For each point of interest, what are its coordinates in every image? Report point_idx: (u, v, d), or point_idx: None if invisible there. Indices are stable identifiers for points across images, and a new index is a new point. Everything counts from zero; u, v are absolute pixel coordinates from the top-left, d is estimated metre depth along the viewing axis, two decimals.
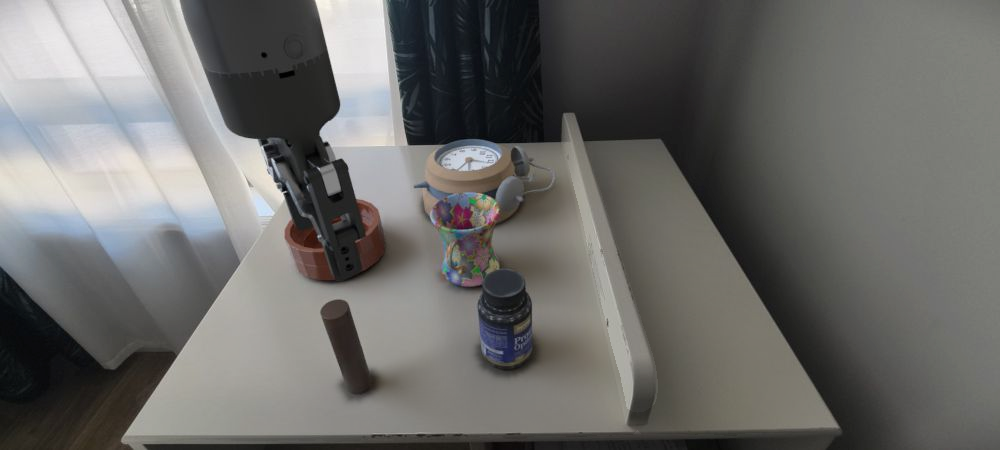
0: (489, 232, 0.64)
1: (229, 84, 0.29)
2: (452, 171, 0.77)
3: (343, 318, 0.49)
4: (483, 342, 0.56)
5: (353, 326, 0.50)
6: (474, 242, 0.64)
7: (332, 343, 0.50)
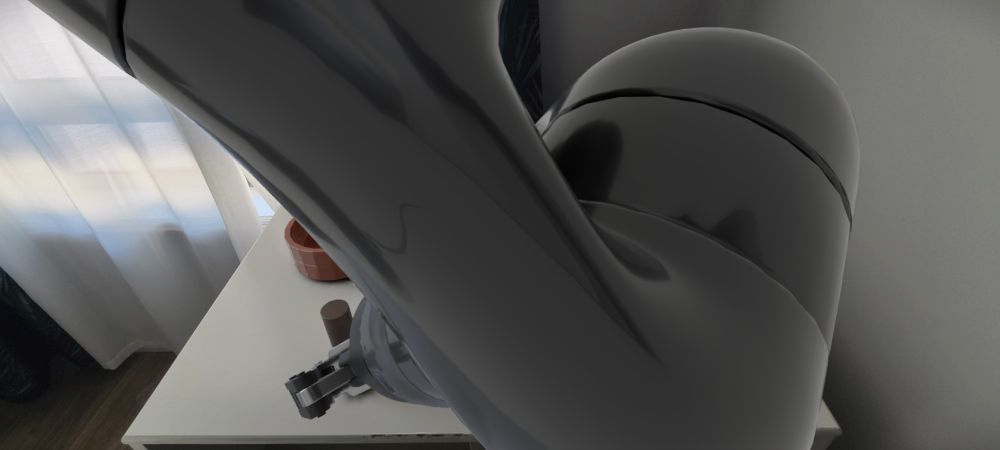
0: None
1: (366, 300, 0.25)
2: None
3: (343, 318, 0.49)
4: None
5: None
6: None
7: (332, 343, 0.50)
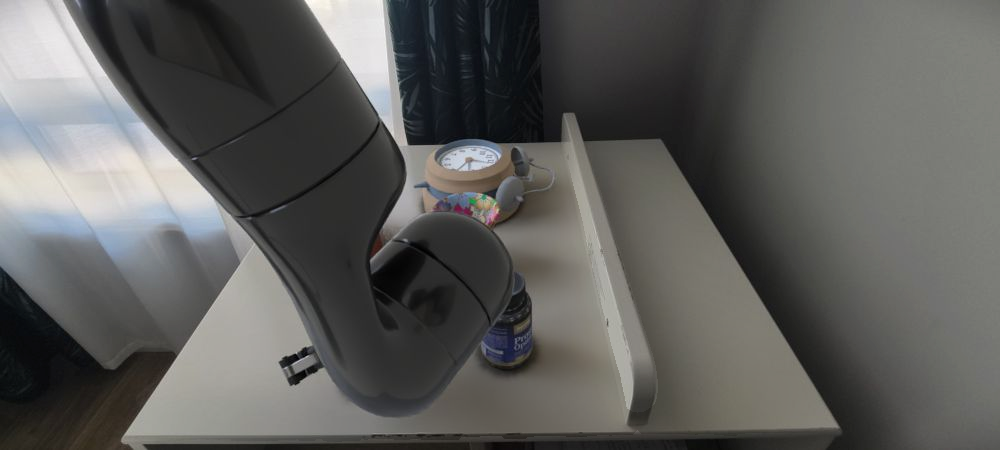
0: None
1: None
2: (452, 171, 0.77)
3: None
4: (483, 342, 0.56)
5: None
6: None
7: None
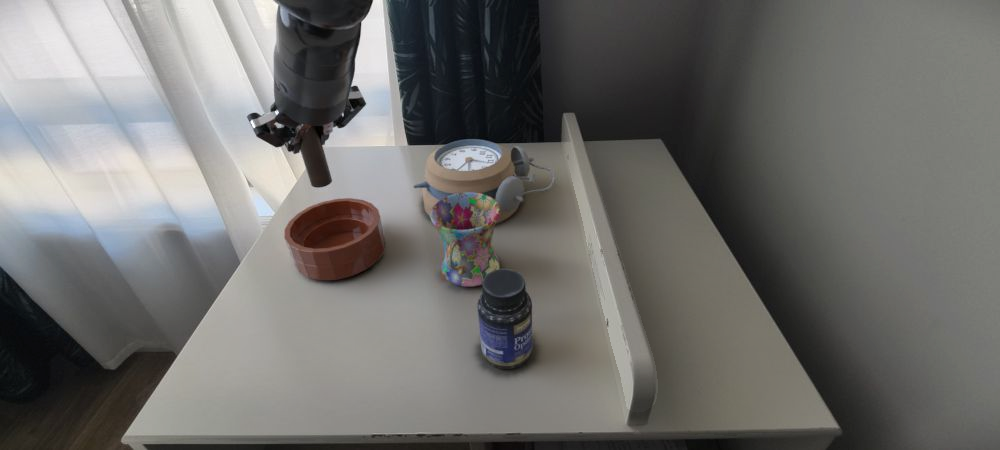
0: (489, 232, 0.64)
1: None
2: (452, 171, 0.77)
3: None
4: (483, 342, 0.56)
5: None
6: (474, 242, 0.64)
7: None
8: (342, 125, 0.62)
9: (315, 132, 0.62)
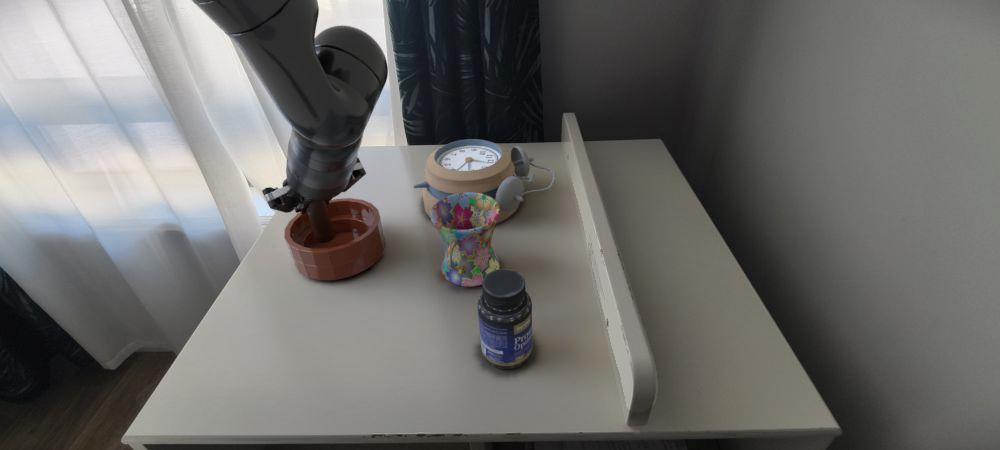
0: (489, 232, 0.64)
1: None
2: (452, 171, 0.77)
3: None
4: (483, 342, 0.56)
5: None
6: (474, 242, 0.64)
7: None
8: (345, 190, 0.70)
9: None
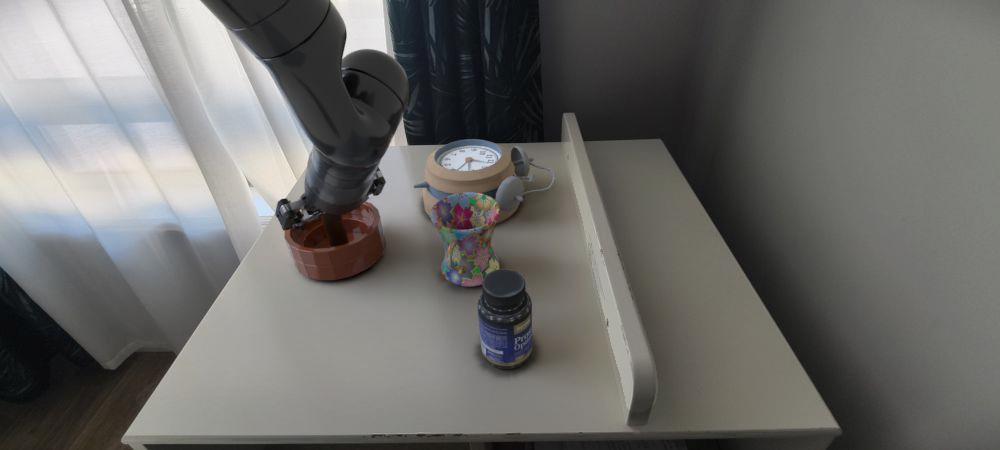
0: (489, 232, 0.64)
1: None
2: (452, 171, 0.77)
3: None
4: (483, 342, 0.56)
5: None
6: (474, 242, 0.64)
7: None
8: (377, 194, 0.71)
9: None
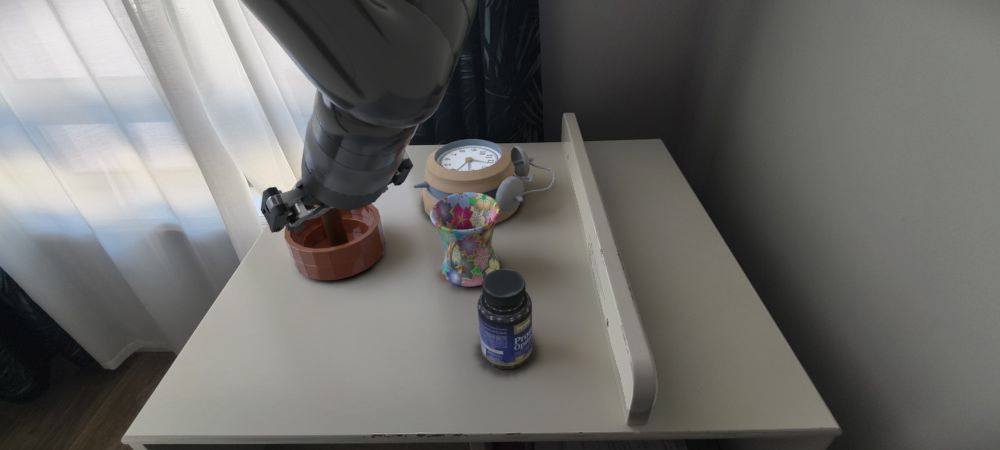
0: (489, 232, 0.64)
1: None
2: (452, 171, 0.77)
3: None
4: (483, 342, 0.56)
5: None
6: (474, 242, 0.64)
7: None
8: (399, 183, 0.53)
9: (337, 211, 0.71)
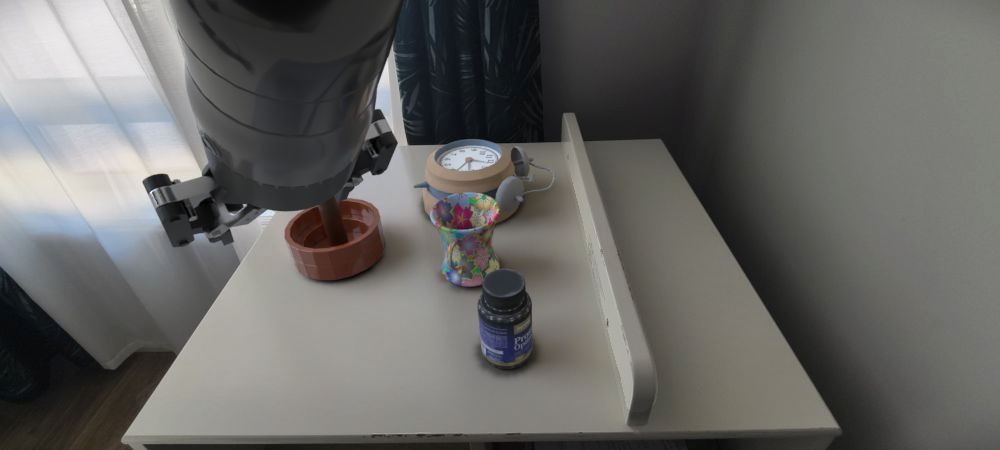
0: (489, 232, 0.64)
1: None
2: (452, 171, 0.77)
3: None
4: (483, 342, 0.56)
5: None
6: (474, 242, 0.64)
7: (320, 210, 0.70)
8: (379, 172, 0.36)
9: (337, 211, 0.71)
